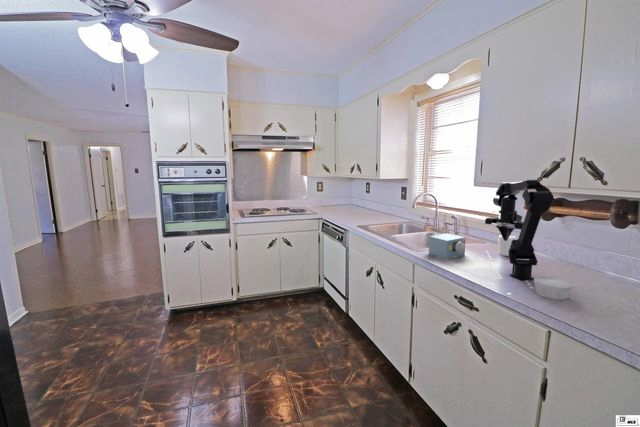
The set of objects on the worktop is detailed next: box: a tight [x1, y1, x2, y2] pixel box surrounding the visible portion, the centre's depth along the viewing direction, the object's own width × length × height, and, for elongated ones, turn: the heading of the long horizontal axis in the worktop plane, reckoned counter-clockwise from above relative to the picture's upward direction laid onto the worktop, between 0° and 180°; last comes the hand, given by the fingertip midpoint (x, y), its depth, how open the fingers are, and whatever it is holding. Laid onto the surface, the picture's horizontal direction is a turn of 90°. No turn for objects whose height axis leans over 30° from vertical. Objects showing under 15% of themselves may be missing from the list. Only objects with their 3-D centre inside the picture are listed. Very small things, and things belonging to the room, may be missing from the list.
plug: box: [453, 242, 466, 253], centre depth 158 cm, size 14×6×6 cm, turn 26°
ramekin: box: [533, 276, 573, 301], centre depth 108 cm, size 11×11×5 cm
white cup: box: [497, 234, 517, 257], centre depth 158 cm, size 8×8×10 cm
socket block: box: [428, 232, 467, 260], centre depth 160 cm, size 12×14×10 cm
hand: (505, 240), depth 141 cm, fingers closed
